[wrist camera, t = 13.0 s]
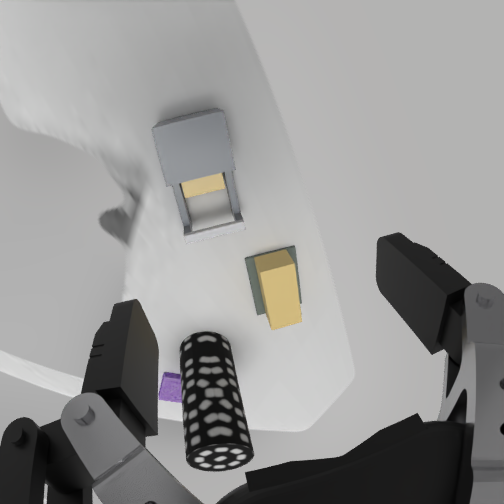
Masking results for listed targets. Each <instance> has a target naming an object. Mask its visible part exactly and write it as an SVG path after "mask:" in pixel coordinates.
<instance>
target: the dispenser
mask: <svg viewBox="0 0 504 504" xmlns="http://www.w3.org/2000/svg"><path fill="white" fill-rule="evenodd" d="M152 133H153V137H154V141H155V145H156V149H157V152H158V156H159V160H160V164H161V168H162V171H163V175H164V179H165V182H166V186H171V185H172V187H173V190H174V194H175V198H176V201H177V205H178V208H179V212H180V215H181V219H182V222H183V226H184V239H185V242H186V244H189V243H193V242H197V241H201V240H205V239H209V238H213V237H217V236H221V235H225V234H229V233H233V232H237V231H241V230H245V229H246V228H245V223H244V220H243V218H242V216H241V213H240V209H239V204H238V199H237V194H236V190H235V185H234V180H233V175H232V170H236V169H235V164H234V159H233V154H232V149H231V144H230V139H229V134H228V129H227V124H226V119H225V114H224V111H223V110H220V109H218V108H216V109H212V110H207V111H203V112H198V113H194V114H190V115H186V116H182V117H178V118H174V119H170V120H167V121H163V122H159V123H157V124H156V125H155V126H154V127H153V128H152ZM223 172H224V177H225V182H226V186H227V191H228V195H229V200H230V205H231V209H232V214H233V217H234V220H235V221H233V222H229V223H225V224H221V225H217V226H213V227H209V228H205V229H201V230H197V231H193V232H192V223H191V220H190V216H189V212H188V209H187V205H186V201H185V198H188V197H192V196H196V195H200V194H204V193H208V192H212V191H217V190H221V189H225V185H224V180H223V176H222V173H223ZM181 184H182V186H181ZM182 188H183V190H182ZM183 191H184V194H183ZM184 195H185V198H184Z"/></svg>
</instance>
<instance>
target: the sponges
mask: <svg viewBox="0 0 504 504" xmlns="http://www.w3.org/2000/svg"><path fill="white" fill-rule="evenodd" d="M159 400H165V401H171V402H181V403H182V393H181V374H175V373H169V372H167V373H164V374H163V378H162V383H161V388H160V391H159Z"/></svg>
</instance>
